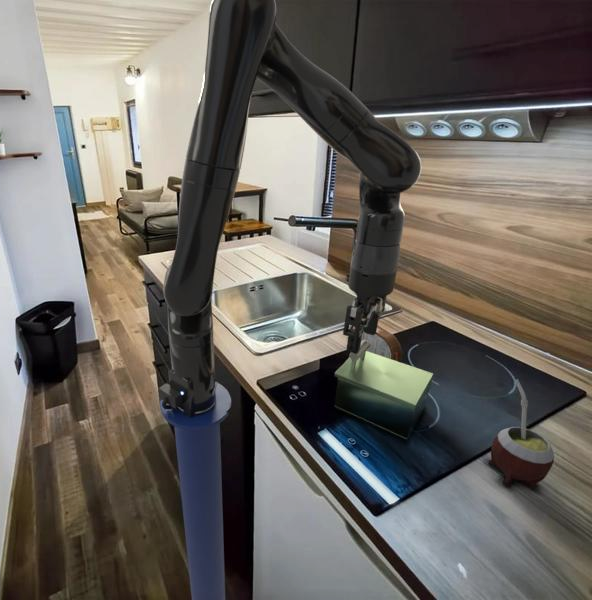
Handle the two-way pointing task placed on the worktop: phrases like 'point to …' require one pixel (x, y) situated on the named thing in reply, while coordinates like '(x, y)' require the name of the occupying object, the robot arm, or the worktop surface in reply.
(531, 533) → the worktop surface
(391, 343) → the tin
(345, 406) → the green box
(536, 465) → the mate gourd
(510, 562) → the worktop surface
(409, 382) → the lid
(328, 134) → the robot arm
